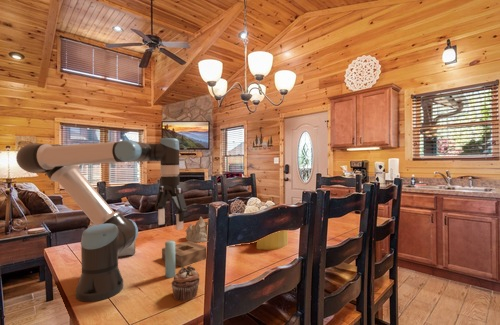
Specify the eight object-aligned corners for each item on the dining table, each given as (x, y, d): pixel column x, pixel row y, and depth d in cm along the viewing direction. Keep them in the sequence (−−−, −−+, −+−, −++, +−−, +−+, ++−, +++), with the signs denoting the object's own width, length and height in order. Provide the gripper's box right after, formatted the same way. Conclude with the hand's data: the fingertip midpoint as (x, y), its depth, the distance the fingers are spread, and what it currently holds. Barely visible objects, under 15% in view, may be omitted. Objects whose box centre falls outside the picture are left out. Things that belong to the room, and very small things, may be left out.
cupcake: (190, 286, 101) (190, 260, 101) (204, 295, 94) (204, 267, 94) (166, 295, 94) (166, 266, 94) (179, 305, 87) (179, 275, 87)
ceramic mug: (135, 256, 133) (135, 240, 133) (117, 259, 129) (117, 243, 129) (134, 250, 142) (134, 236, 142) (117, 252, 139) (117, 237, 139)
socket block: (181, 267, 119) (181, 256, 119) (162, 258, 129) (161, 248, 129) (208, 257, 131) (208, 247, 131) (189, 250, 141) (189, 241, 141)
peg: (168, 278, 107) (168, 244, 107) (163, 276, 110) (163, 242, 110) (177, 275, 110) (177, 241, 110) (171, 272, 113) (171, 240, 113)
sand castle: (219, 238, 162) (217, 214, 163) (195, 245, 152) (193, 219, 152) (205, 234, 174) (204, 212, 174) (182, 240, 164) (181, 216, 164)
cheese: (240, 248, 144) (240, 221, 144) (246, 235, 170) (246, 212, 170) (288, 250, 141) (288, 222, 141) (287, 236, 167) (287, 212, 167)
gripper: (196, 176, 105) (196, 229, 105) (162, 174, 121) (162, 220, 121) (180, 177, 99) (180, 233, 99) (146, 175, 115) (146, 223, 115)
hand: (170, 226), depth 110 cm, fingers open, 13 cm apart
